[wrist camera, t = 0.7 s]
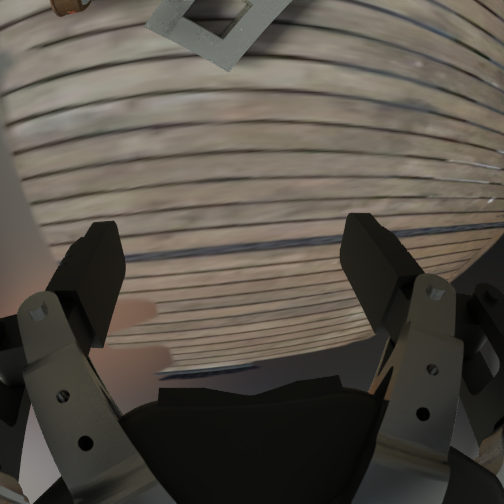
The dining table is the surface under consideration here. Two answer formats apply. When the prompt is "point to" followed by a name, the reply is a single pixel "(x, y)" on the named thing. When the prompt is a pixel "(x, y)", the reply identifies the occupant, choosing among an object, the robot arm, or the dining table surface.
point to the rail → (208, 43)
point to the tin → (68, 6)
